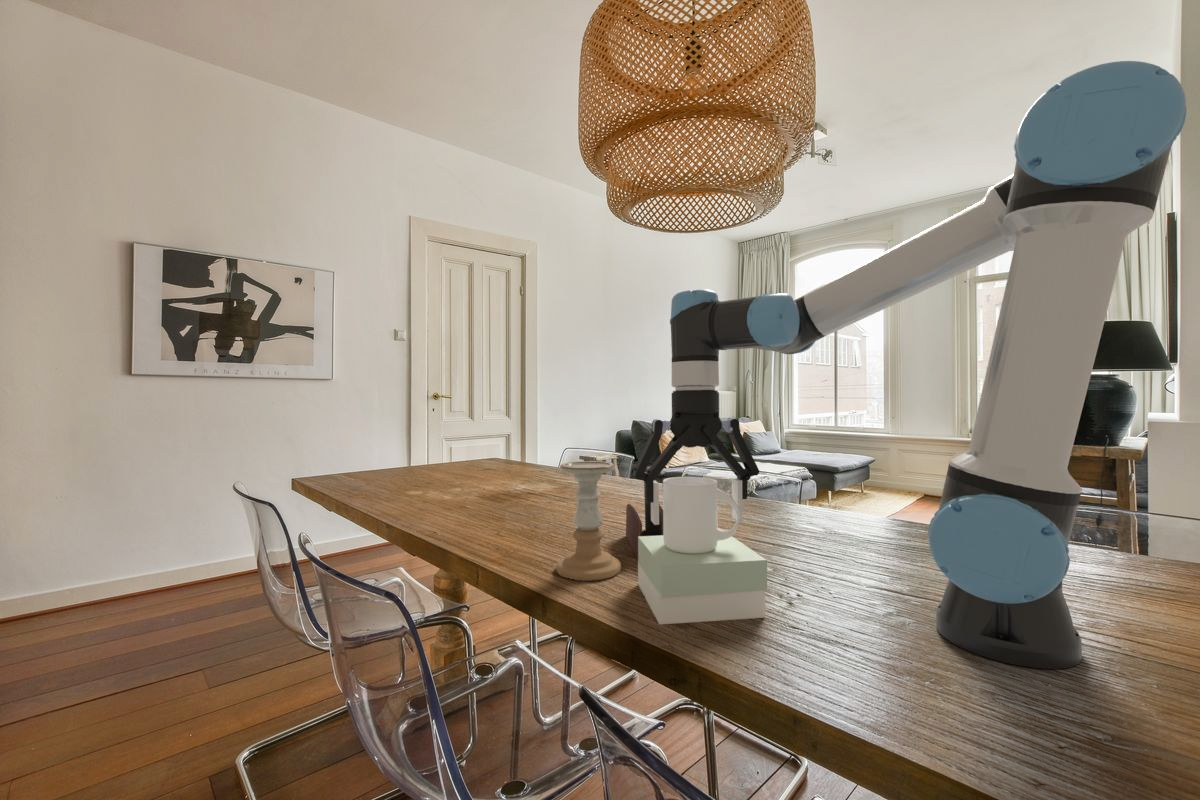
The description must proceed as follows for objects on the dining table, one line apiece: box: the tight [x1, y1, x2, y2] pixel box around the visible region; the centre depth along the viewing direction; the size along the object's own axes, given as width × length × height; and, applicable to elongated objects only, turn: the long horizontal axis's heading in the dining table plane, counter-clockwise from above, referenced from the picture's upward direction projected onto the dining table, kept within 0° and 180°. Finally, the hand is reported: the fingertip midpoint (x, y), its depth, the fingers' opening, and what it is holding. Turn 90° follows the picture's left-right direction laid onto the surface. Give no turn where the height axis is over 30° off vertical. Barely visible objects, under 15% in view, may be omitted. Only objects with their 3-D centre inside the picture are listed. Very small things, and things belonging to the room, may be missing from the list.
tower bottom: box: [637, 562, 766, 625], centre depth 84 cm, size 16×16×4 cm
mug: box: [662, 476, 740, 554], centre depth 83 cm, size 9×12×11 cm
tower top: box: [637, 535, 768, 597], centre depth 84 cm, size 16×16×4 cm
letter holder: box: [625, 499, 663, 560], centre depth 113 cm, size 10×20×14 cm, turn 5°
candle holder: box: [555, 460, 622, 582], centre depth 99 cm, size 12×12×20 cm
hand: (696, 521), depth 84 cm, fingers open, 13 cm apart
